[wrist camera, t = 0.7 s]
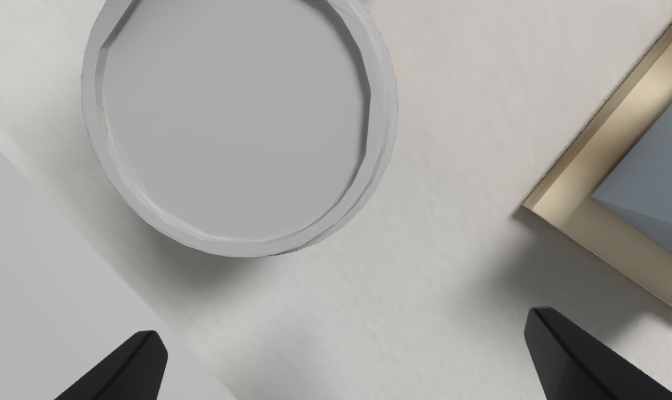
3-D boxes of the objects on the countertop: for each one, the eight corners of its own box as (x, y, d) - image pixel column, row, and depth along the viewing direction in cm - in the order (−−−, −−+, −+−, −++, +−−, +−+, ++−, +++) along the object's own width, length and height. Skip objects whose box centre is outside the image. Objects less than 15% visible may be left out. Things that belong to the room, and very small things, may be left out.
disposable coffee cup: (350, 7, 20) (344, -150, 8) (393, 166, 22) (440, 225, 10) (198, 62, 21) (1, -7, 9) (253, 208, 23) (148, 304, 11)
